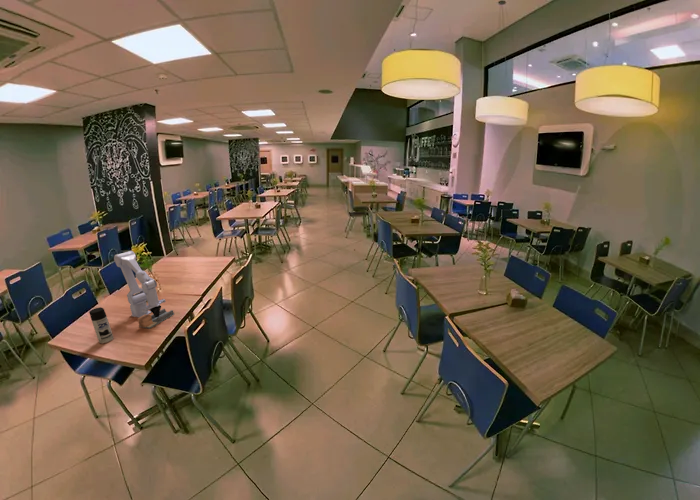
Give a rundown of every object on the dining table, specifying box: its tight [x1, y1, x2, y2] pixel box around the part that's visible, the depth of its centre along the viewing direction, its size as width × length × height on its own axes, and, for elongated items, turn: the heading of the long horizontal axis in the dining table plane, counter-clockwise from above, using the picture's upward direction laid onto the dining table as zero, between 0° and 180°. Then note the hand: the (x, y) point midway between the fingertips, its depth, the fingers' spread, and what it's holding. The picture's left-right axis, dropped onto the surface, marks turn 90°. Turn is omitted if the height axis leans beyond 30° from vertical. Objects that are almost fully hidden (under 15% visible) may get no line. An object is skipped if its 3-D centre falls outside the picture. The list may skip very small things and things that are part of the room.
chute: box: [138, 308, 175, 330], centre depth 187 cm, size 9×18×3 cm, turn 162°
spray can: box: [88, 306, 114, 344], centre depth 165 cm, size 7×7×20 cm
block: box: [136, 314, 153, 328], centre depth 180 cm, size 5×5×6 cm
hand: (157, 316), depth 188 cm, fingers closed
